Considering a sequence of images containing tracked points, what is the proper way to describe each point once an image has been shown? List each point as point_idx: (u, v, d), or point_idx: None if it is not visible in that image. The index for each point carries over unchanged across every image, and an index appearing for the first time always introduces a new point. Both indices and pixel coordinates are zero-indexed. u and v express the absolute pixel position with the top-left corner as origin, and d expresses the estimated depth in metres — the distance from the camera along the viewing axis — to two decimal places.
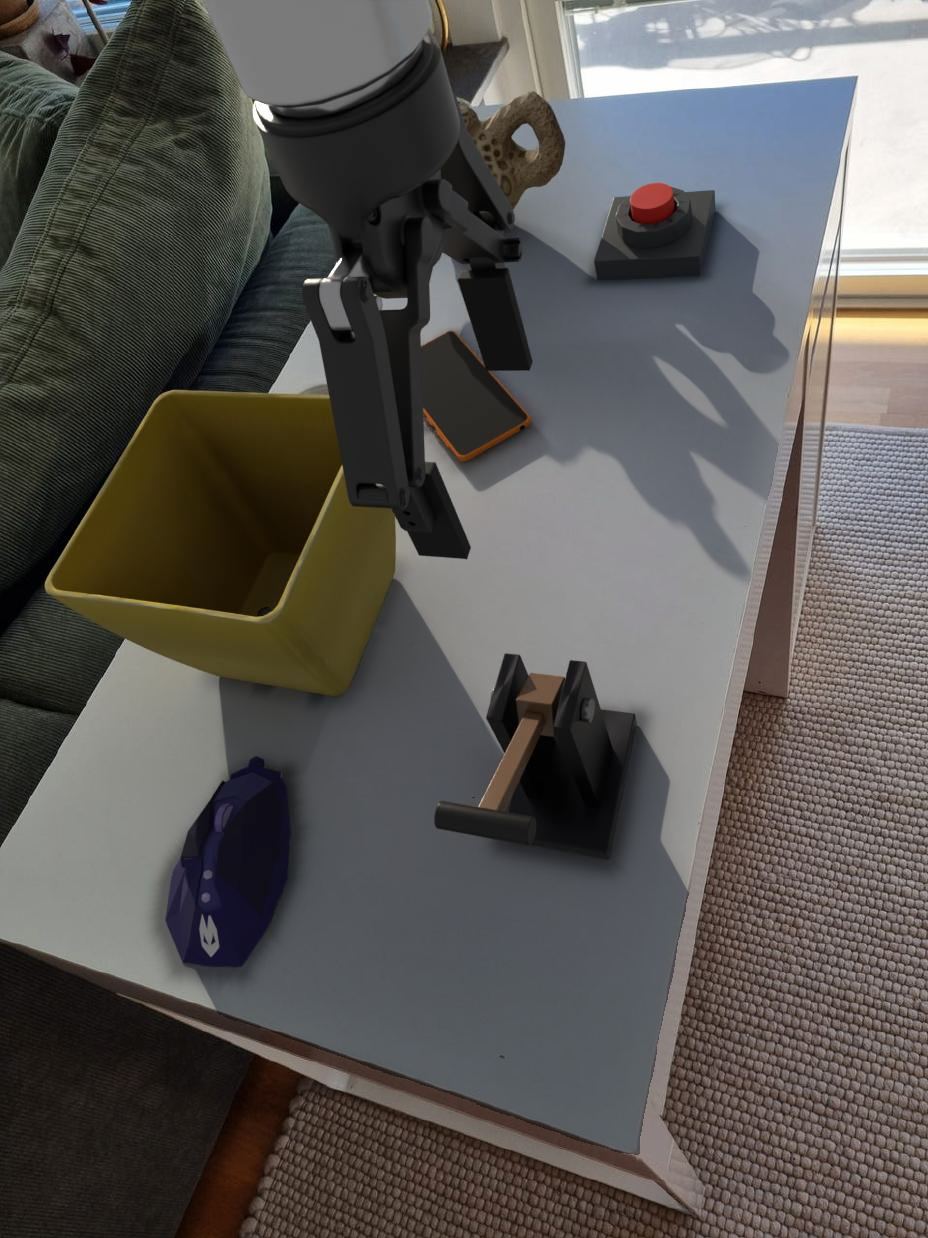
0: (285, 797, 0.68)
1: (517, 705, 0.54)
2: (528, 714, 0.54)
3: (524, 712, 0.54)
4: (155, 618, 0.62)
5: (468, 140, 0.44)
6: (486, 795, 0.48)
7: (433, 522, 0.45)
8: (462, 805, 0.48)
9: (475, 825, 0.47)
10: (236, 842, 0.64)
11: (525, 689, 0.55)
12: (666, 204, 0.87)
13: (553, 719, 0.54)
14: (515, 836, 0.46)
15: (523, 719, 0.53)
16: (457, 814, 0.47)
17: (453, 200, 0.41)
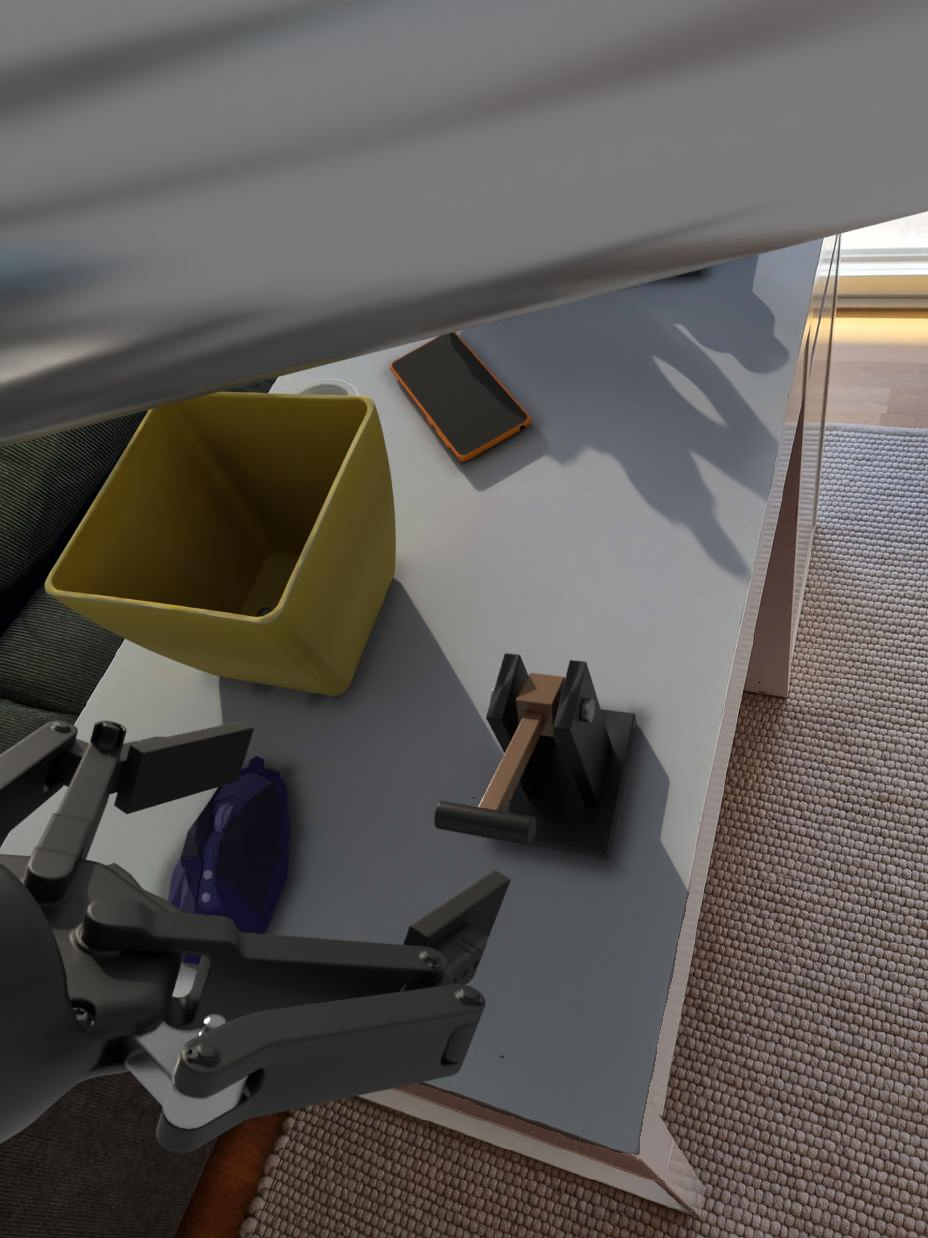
0: (285, 797, 0.68)
1: (517, 705, 0.54)
2: (528, 714, 0.54)
3: (524, 712, 0.54)
4: (155, 618, 0.62)
5: None
6: (486, 795, 0.48)
7: (475, 931, 0.33)
8: (462, 805, 0.48)
9: (475, 825, 0.47)
10: (236, 842, 0.64)
11: (525, 689, 0.55)
12: None
13: (553, 719, 0.54)
14: (515, 836, 0.46)
15: (523, 719, 0.53)
16: (457, 814, 0.47)
17: (53, 843, 0.28)
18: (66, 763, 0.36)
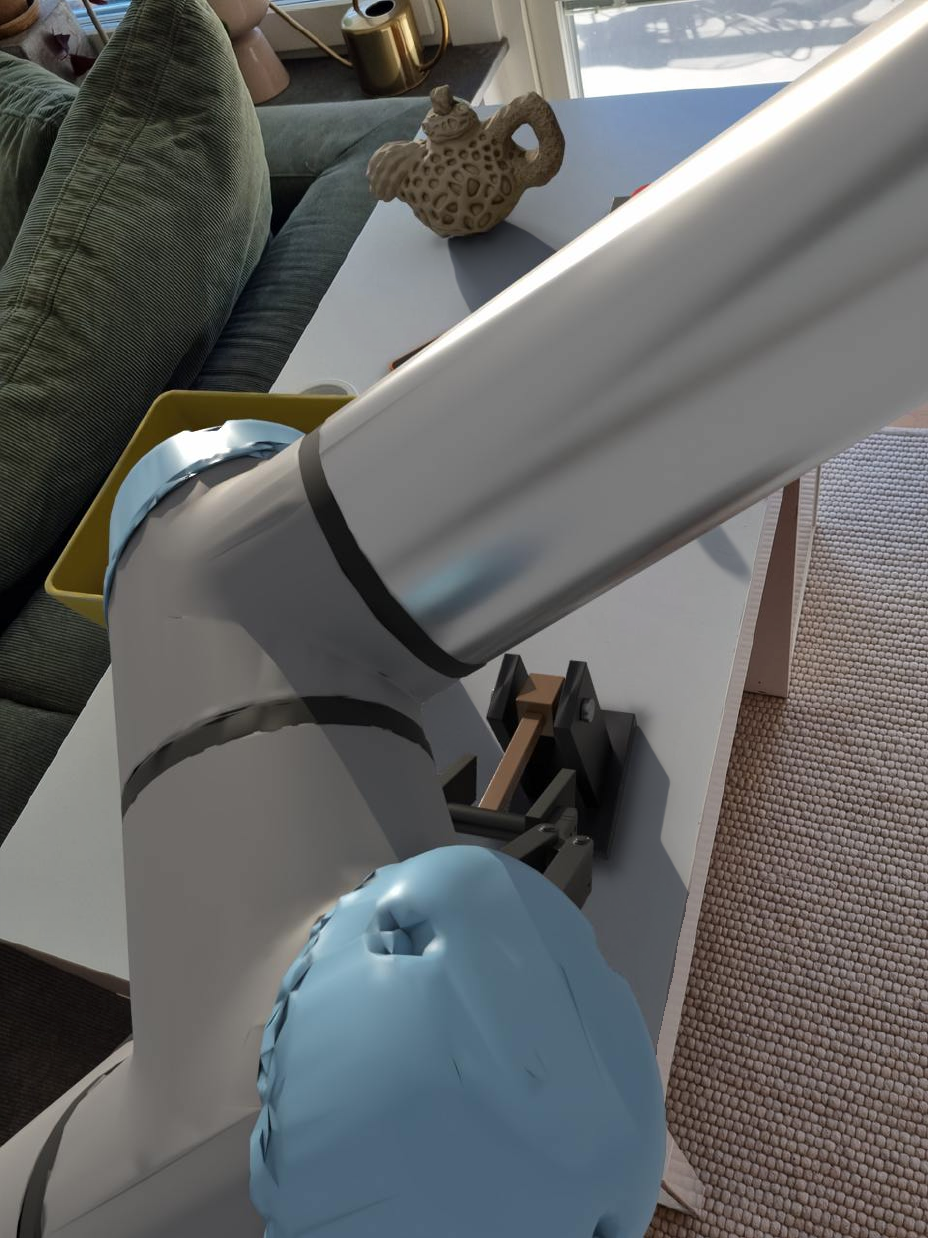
0: None
1: (517, 705, 0.54)
2: (528, 714, 0.54)
3: (524, 712, 0.54)
4: None
5: None
6: (486, 795, 0.48)
7: (566, 808, 0.47)
8: (462, 805, 0.48)
9: (475, 825, 0.47)
10: None
11: (525, 689, 0.55)
12: None
13: (553, 719, 0.54)
14: (515, 836, 0.46)
15: (523, 719, 0.53)
16: (457, 814, 0.47)
17: None
18: None
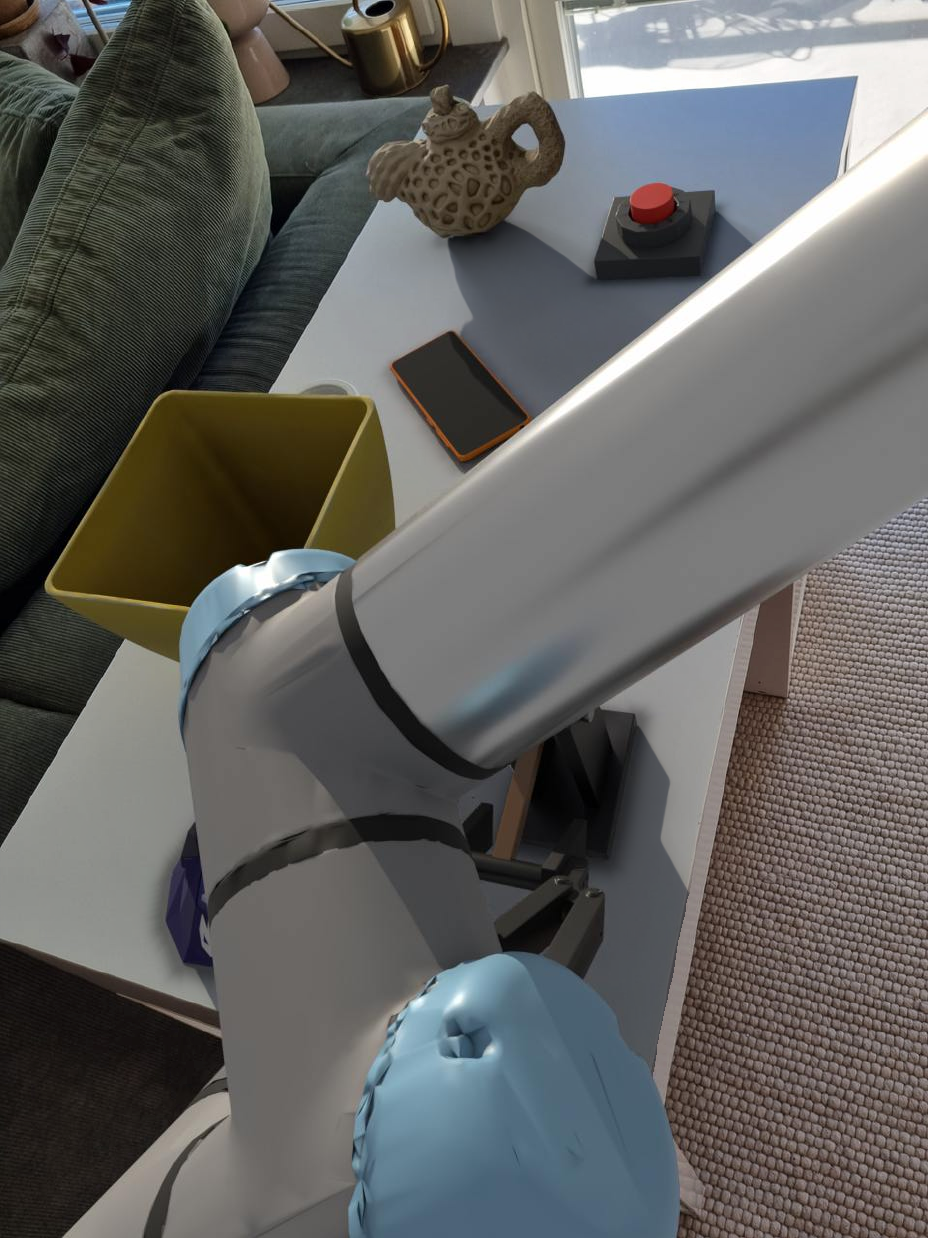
0: None
1: None
2: None
3: None
4: (155, 618, 0.62)
5: None
6: (498, 841, 0.51)
7: (578, 858, 0.51)
8: (477, 857, 0.51)
9: (492, 878, 0.50)
10: None
11: None
12: (666, 204, 0.87)
13: None
14: (530, 888, 0.50)
15: None
16: None
17: None
18: None
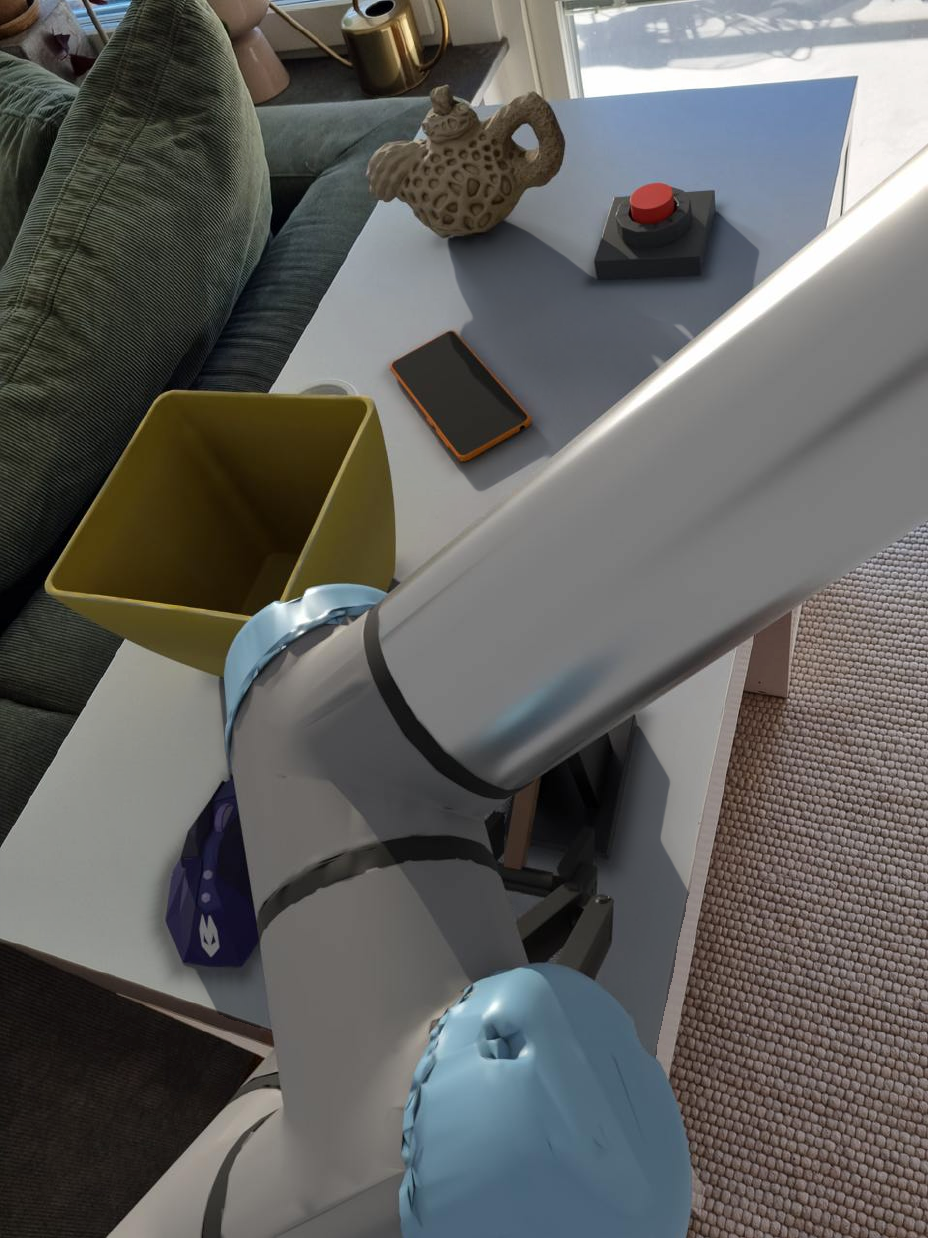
0: None
1: None
2: None
3: None
4: (155, 618, 0.62)
5: None
6: (508, 851, 0.53)
7: (587, 865, 0.53)
8: None
9: (504, 887, 0.52)
10: (236, 842, 0.64)
11: None
12: (666, 204, 0.87)
13: None
14: (541, 896, 0.52)
15: None
16: None
17: None
18: None
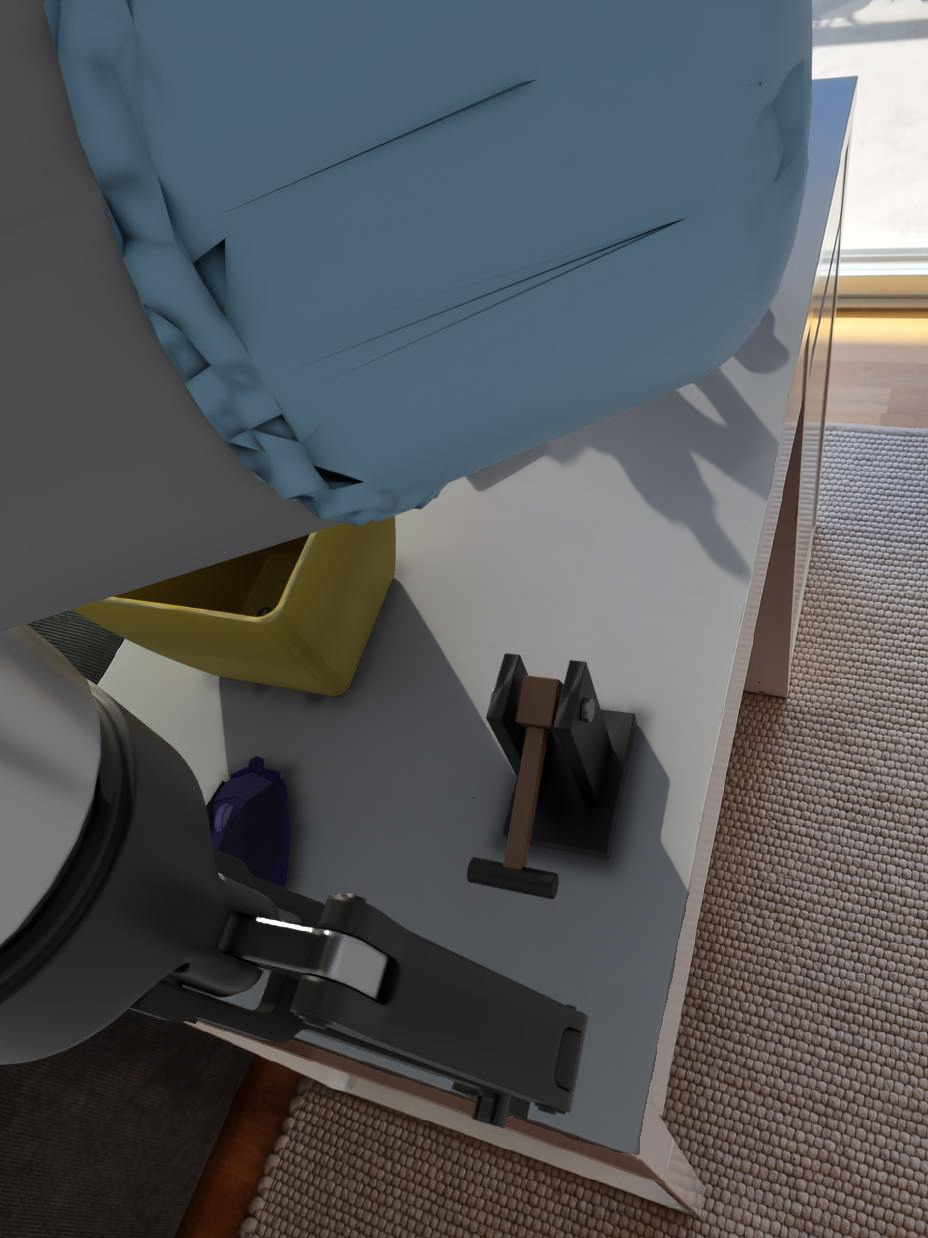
0: (285, 797, 0.68)
1: (518, 722, 0.54)
2: (530, 730, 0.54)
3: (526, 725, 0.55)
4: (155, 618, 0.62)
5: None
6: (508, 851, 0.53)
7: None
8: (489, 868, 0.53)
9: (504, 887, 0.52)
10: (236, 842, 0.64)
11: (523, 703, 0.54)
12: None
13: None
14: (541, 896, 0.52)
15: (526, 738, 0.54)
16: (487, 879, 0.53)
17: None
18: None
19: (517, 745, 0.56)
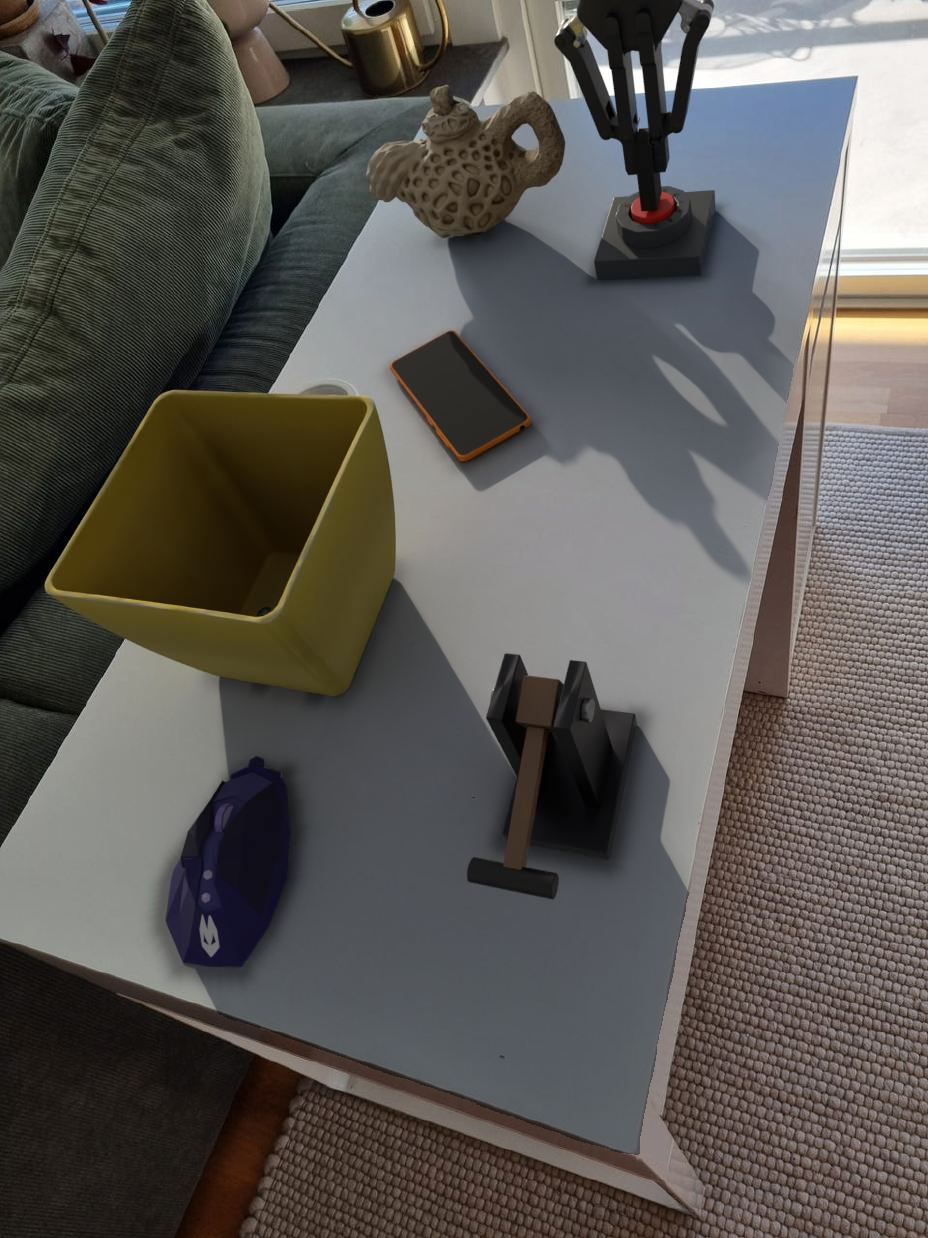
0: (285, 797, 0.68)
1: (518, 722, 0.54)
2: (530, 730, 0.54)
3: (526, 725, 0.55)
4: (155, 618, 0.62)
5: None
6: (508, 851, 0.53)
7: None
8: (489, 868, 0.53)
9: (504, 887, 0.52)
10: (236, 842, 0.64)
11: (523, 703, 0.54)
12: (667, 213, 0.88)
13: None
14: (541, 896, 0.52)
15: (526, 738, 0.54)
16: (487, 879, 0.53)
17: None
18: None
19: (517, 745, 0.56)
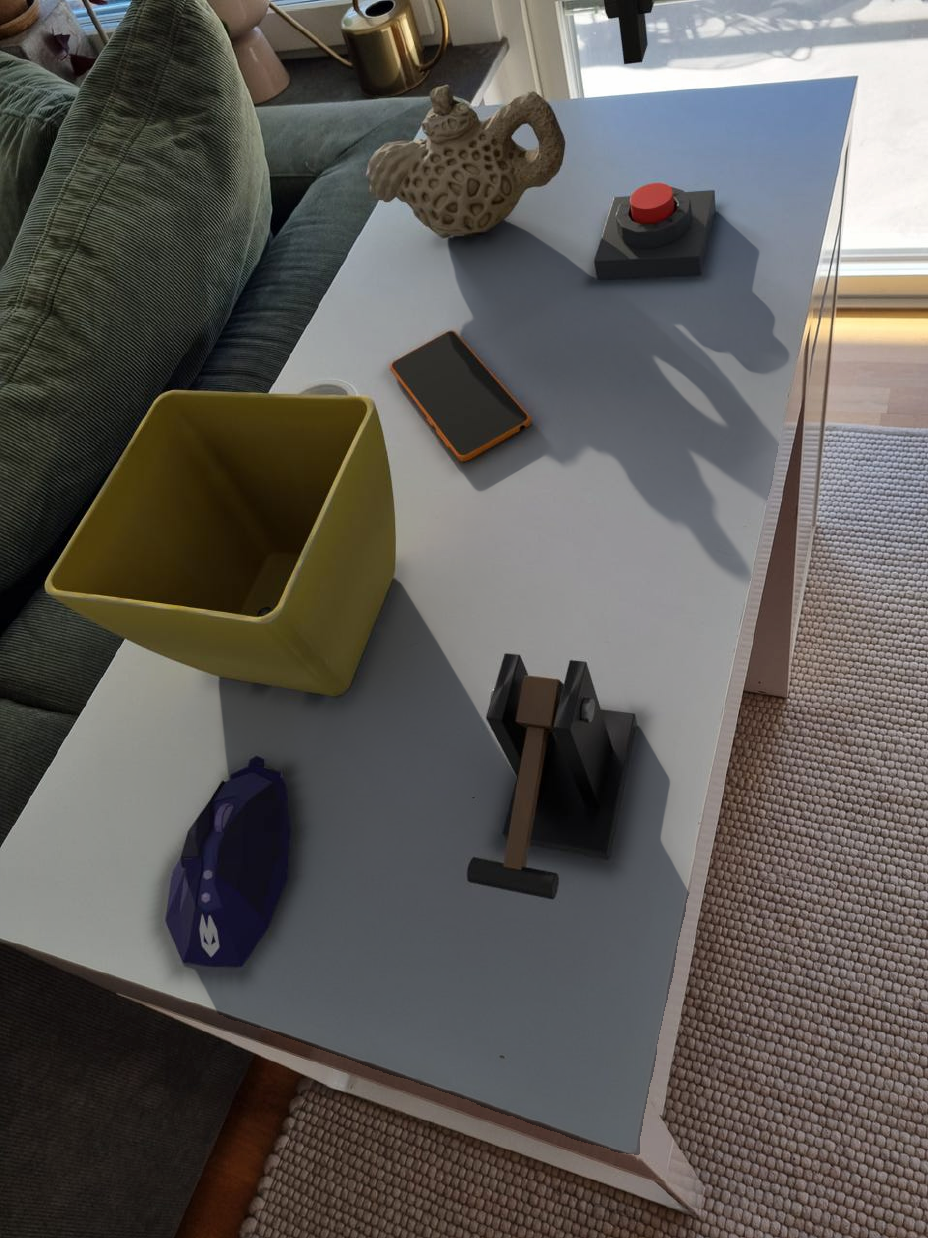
0: (285, 797, 0.68)
1: (518, 722, 0.54)
2: (530, 730, 0.54)
3: (526, 725, 0.55)
4: (155, 618, 0.62)
5: None
6: (508, 851, 0.53)
7: None
8: (489, 868, 0.53)
9: (504, 887, 0.52)
10: (236, 842, 0.64)
11: (523, 703, 0.54)
12: (666, 204, 0.87)
13: None
14: (541, 896, 0.52)
15: (526, 738, 0.54)
16: (487, 879, 0.53)
17: None
18: None
19: (517, 745, 0.56)
